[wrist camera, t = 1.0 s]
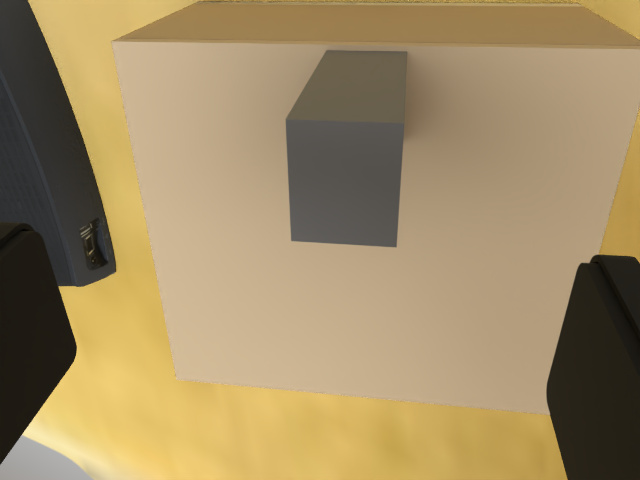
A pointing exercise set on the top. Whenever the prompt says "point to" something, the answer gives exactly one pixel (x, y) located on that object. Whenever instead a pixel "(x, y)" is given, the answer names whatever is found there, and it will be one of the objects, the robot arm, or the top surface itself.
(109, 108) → the top surface
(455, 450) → the top surface
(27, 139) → the external hard drive
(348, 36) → the carton
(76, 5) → the top surface
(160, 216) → the carton lid
